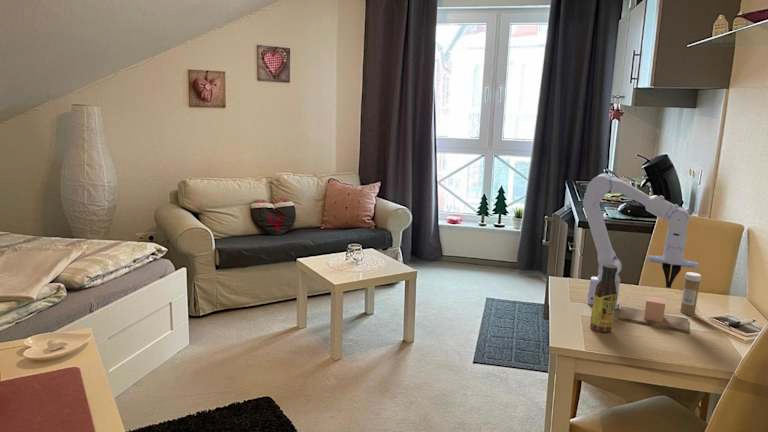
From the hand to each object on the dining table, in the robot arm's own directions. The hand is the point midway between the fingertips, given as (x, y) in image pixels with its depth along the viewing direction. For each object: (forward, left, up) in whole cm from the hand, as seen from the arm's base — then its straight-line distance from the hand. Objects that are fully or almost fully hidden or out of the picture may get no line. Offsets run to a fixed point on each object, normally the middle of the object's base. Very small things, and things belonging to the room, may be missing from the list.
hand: (668, 286), depth 190 cm
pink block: (-3, -6, -9) cm, 11 cm away
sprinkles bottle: (+7, +8, -10) cm, 15 cm away
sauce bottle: (-17, -23, -10) cm, 30 cm away
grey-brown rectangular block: (-3, -6, -10) cm, 12 cm away
